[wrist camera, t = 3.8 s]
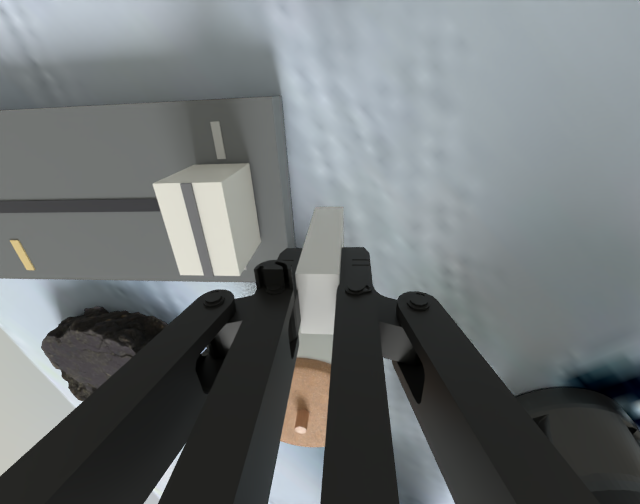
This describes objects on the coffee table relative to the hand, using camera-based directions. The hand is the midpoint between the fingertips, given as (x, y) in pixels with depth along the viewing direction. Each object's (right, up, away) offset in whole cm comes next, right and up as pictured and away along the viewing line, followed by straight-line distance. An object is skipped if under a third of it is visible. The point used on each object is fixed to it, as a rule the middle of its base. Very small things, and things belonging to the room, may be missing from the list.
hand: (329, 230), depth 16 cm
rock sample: (-22, -14, +20) cm, 33 cm away
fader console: (-17, +4, +10) cm, 20 cm away
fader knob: (-7, +2, +6) cm, 10 cm away
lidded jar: (-1, -11, +16) cm, 20 cm away
